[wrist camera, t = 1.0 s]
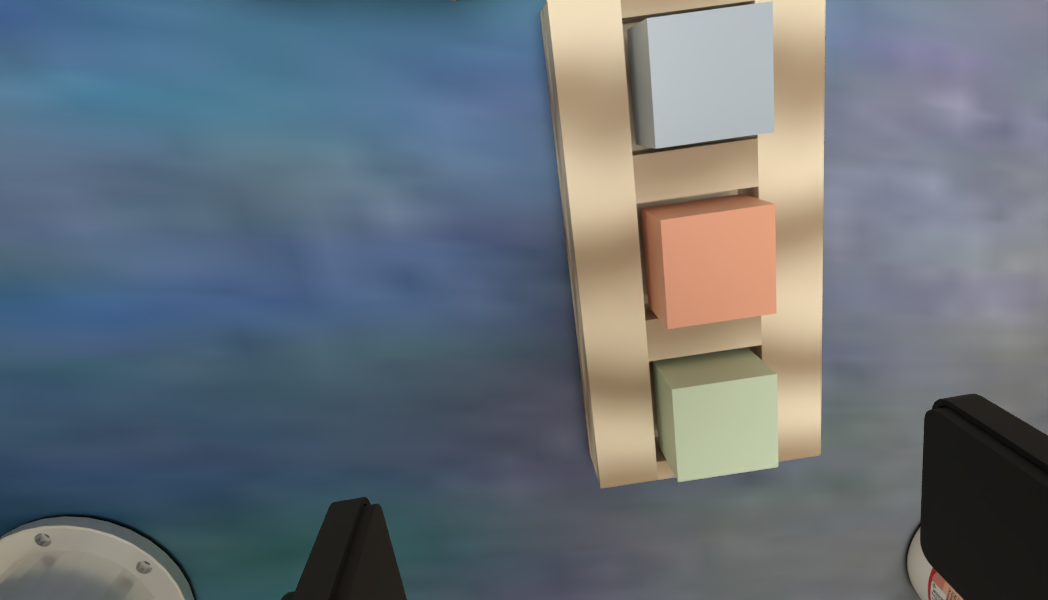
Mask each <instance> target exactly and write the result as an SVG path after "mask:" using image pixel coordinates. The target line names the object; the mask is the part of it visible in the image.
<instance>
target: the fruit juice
mask: <svg viewBox="0 0 1048 600" xmlns="http://www.w3.org/2000/svg"><path fill="white" fill-rule="evenodd" d="M907 569H908V574H909V578H910V581H911V583H912V585H913V587H914V589H915V591H916V593H917V594H918V595H919V597H920V598H921V600H963V598H962V597H961V596H960V595H959V594H958V593H957V592H956V591H955V590H954V589H953V588H952V587H951V586H950V585H949V584H948V583H947V582H946V581H945V580H944V579H943V578H942V576H941V575H940V574H939V573H938V572H937V571H936V570H935V569H934V568H933V567H932V566H931V565H930V564H929V562H928V561H927V559H926V558H925V556H924V554H923V551H922V548H921V545H920V528H919V529H918V531H917V532H916V534H915V536H914V538H913V540H912V542H911V545H910V548H909V552H908V557H907Z"/></svg>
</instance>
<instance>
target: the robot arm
mask: <svg viewBox="0 0 1048 600" xmlns="http://www.w3.org/2000/svg"><path fill="white" fill-rule="evenodd" d="M920 545H921V548H922V551H923V554H924V556H925V558H926V559H927V561H928V562H929V564H930V565H931V566H932V567H933V568H934V569H935V570H936V571H937V572H938V573H939V574H940V575H941V576H942V578H943V579H944V580H945V581H946V582H947V583H948V584H949V585H950V586H951V587H952V588H953V589H954V590H955V591H956V592H957V593H958V594H959V595H960V596H961V597H962V598H963V600H1048V436H1047V435H1046V434H1044V433H1042V432H1041V431H1039V430H1037V429H1036V428H1034V427H1032V426H1031V425H1029V424H1027V423H1026V422H1024V421H1022V420H1021V419H1019V418H1017V417H1015V416H1014V415H1012V414H1010V413H1009V412H1007V411H1005V410H1004V409H1002V408H1000V407H999V406H997V405H995V404H994V403H992V402H990V401H989V400H987V399H985V398H983V397H982V396H979V395H977V394H967V395H961V396H956V397H950V398H944V399H939V400H937V401H936V402H935V403H934V405H933V407H932V409H931V410H929V411H927V413H926V414H925V419H924V444H923V471H922V499H921V526H920ZM0 600H194V598H193V595H192V592H191V589H190V586H189V583H188V582H187V580H186V578H185V577H184V575H183V573H182V572H181V570H180V568H179V567H178V566H177V565H176V564H175V563H174V562H173V560H172V559H171V558H170V557H169V556H168V555H167V554H166V553H165V552H164V551H163V550H161V549H160V548H159V547H157V546H156V545H155V544H154V543H152V542H151V541H150V540H148V539H146V538H144V537H143V536H141V535H139V534H137V533H135V532H133V531H132V530H130V529H127V528H124V527H121V526H119V525H116V524H113V523H110V522H106V521H102V520H97V519H92V518H86V517H66V516H64V517H55V518H46V519H41V520H37V521H34V522H30V523H27V524H23V525H21V526H19V527H17V528H15V529H13V530H11V531H9V532H7V533H6V534H4V535H3V536H2V537H1V538H0ZM281 600H407V599H406V595H405V591H404V588H403V584H402V580H401V577H400V573H399V569H398V566H397V562H396V558H395V555H394V551H393V548H392V544H391V540H390V537H389V533H388V529H387V526H386V522H385V518H384V515H383V511H382V508H381V506H380V505H379V504H373V505H370V502H369V500H368V499H367V498H366V497H362V498H356V499H350V500H344V501H339V502H334V503H331V505H330V507H329V509H328V511H327V514H326V516H325V519H324V521H323V524H322V526H321V529H320V531H319V534H318V536H317V539H316V541H315V543H314V546H313V548H312V551H311V553H310V556H309V558H308V561H307V563H306V566H305V568H304V571H303V573H302V575H301V578H300V580H299V583H298V585H297V588H296V590H295V592H289V593H287V594H286V595H284V596H283V597H282V599H281Z"/></svg>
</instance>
